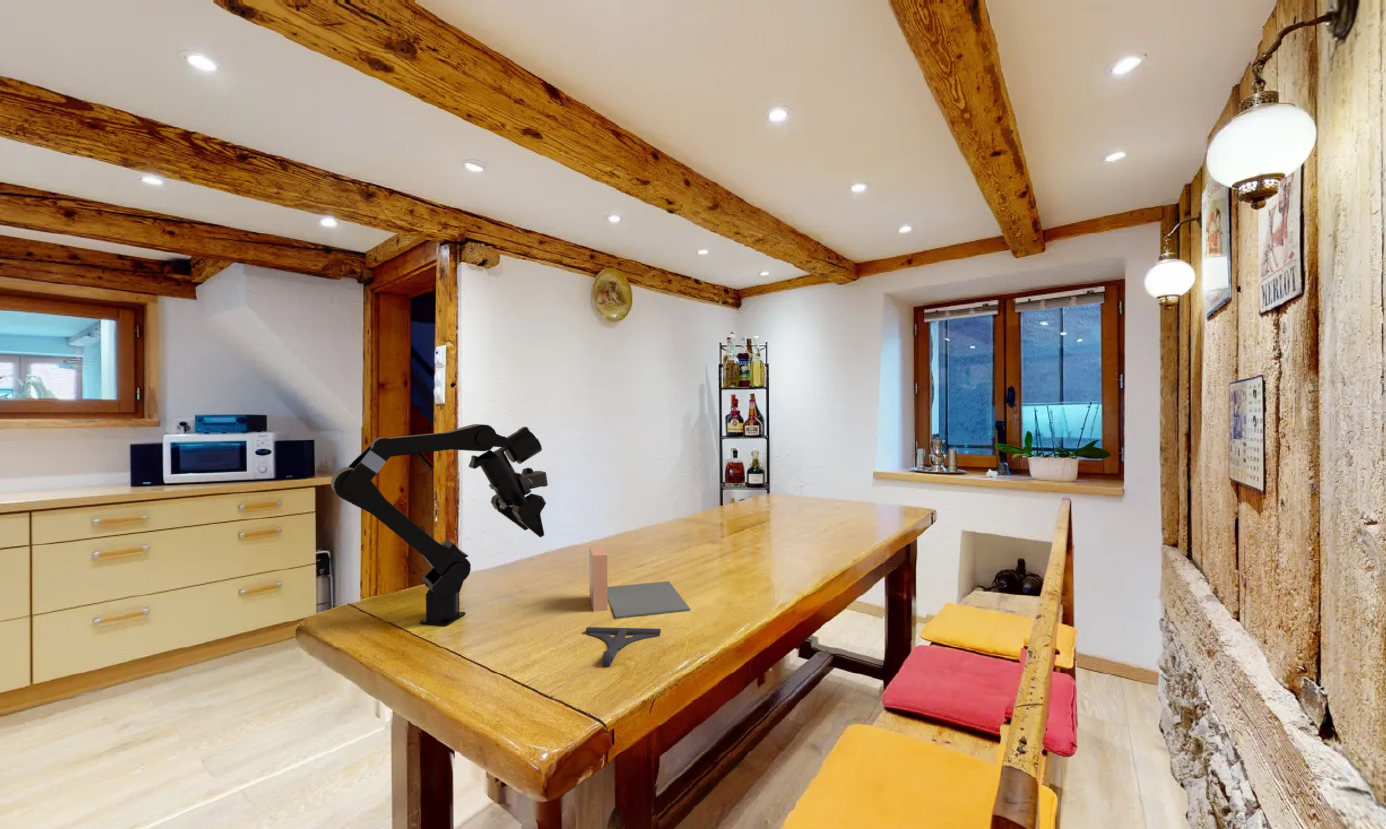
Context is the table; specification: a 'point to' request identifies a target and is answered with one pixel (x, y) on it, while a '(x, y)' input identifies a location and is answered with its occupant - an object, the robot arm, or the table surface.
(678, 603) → the mat
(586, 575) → the table surface
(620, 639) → the bracket
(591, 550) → the brick
